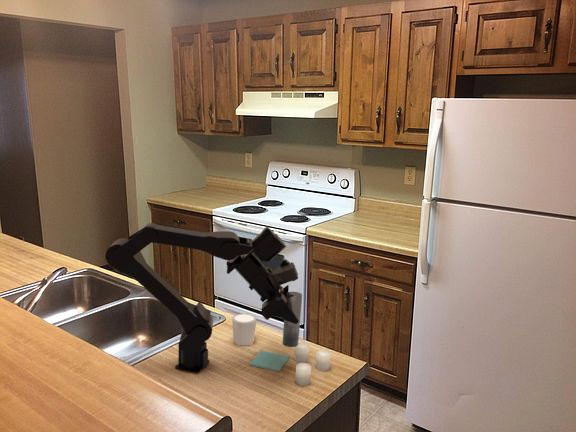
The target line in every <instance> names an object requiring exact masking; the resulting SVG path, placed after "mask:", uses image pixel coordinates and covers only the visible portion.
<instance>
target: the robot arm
mask: <svg viewBox="0 0 576 432" xmlns="http://www.w3.org/2000/svg"><path fill="white" fill-rule="evenodd" d="M150 244H159V245H167V246H173V247H178V248H179V247H180V248H184V249H191V250H196V251H197V250H198V251H201V252H205V253H206V254H209V255H211V256H212V257H215V258H218V259H222V260H225V261H226V262H225V263H226V274H228V275H230V274H231V273H232V272H233V271H234V270H235V271H236V273H238V274H239V275H240V276H241V278H242V279H243V280H245V282H246V283H247V284H248V289H250V291H253V290H254V291H255V292H256V294H257V295H258V296H260V299H259V300H260V301H261V302H262V303H261V304H262V305H261V312H260V313H261V316H262V317H263V318H264V319H265V320H266V321H268V320H270V318H272V317H275V318H278V319H281V320H283V321H284V320H286V321H289V322H291V323H294V324H297V323H298V322H299V320H298V319H297V317H296V315H295V314H294V312H293V311H292V310H291V308H290V307H289V305H288V296H287V297H286V293H287V292H289V291H290V289H289V288H290V286H289V284H287V283H291V282H296V281H297V280H299V273H298V270H297V268H296V265H295V263H294V262H290V261H289V260H288V259H287V258H285V259H283V260H281V261H280V266H278V267H277V268H275V269H272V268H271V267H270V266H267V267H266V266H265V265H264V264H263V263H262V262H265V263H266V262H271V261H272V260H274V258H275V257H277V255H278V254H280V253H281V252H283V250H285V249H286V247H287V245H286V244H285V242H284V241H283V240H282V238H281V237H280V236H279V235H278V233H275V232H274V231H273V230H272V229H271V228H269V226H266V227H264V228H263V229H262V231H261V232H260V233H259V234H258V235H257V236H256V237H254V238H253V239H252V238H251V237H250V238H249V237H244V236H238V234H237V233H236V232H233V231H229V230H228V231H226V230H225V231H220V230H219V231H210V232H209V231H208V232H207V231H206V232H202V231H196V230H189V229H185V228H177V227H172V226H166V225H160V224H157V223H154V222H149V223H147V224H145V225H144V227H142V228H141V229H139V230H137V231H135V232H134V233H132V234H131V235H130V236H128V237H125V238H124V237H123V238H118V239H116V240H115V241H114V242H112V244H111V245H110V246H109V247H108V248H107V250H106V251H105V261H106V263H107V264H108V266H109V267H111V268H112V269H114V270H115V271H117V272H119V273H120V274H122V275H124V276H128V277H131V278H132V279H134V280H135V281H137V282H138V284H140V285H141V287H143V288H144V289H145V290H146V291H147V292H148V293H149V294H151V295H152V296H153V297H154V298H155V299H156V300H157V301H158V302H160V303H161V305H162V306H164V307H165V308H166V309H167V310H168V311H169V312H170V313H171V314H173V316H175V317H176V319H177V320H178V322H179V323H180V326H181V328H182V329H181V333H180V337H179V342H178V343H177V344H178V345H177V346H178V348H177V349H178V354H177V355H178V359H177V360H178V363H177V364H176V365H174V369H175V370H179V371H184V372H187V373H192V374H199V373H200V372H201V371H202V370H204V369H205V368H206V366H208V364H210V359H209V348H207V345H208V344H207V343H208V342H207V341H208V340H209V339H210V338H211V336H212V335H213V326H214V320H213V315H212V314H211V313H212V312H211V310H209V309H207V308H206V306H204V305H203V303H202V302H201V301H198V302H197V303H196V304H193V303H190V302H189V301H188V300H187V299H185V297H183V296H182V295H181V294H180V293H179V292H178V291H177V290H176V289H175V288H174V287H173V286H171V284H169V282H167V281H166V279H164V278H163V277H162V276H161V275H160V274H159V273H158V272H157V271H156V270H155V269H153V268H152V266H150V265H149V264H148V263H147V261H146V260H145V258H144V255H143V253H142V252H141V251H142V250H143V249H145V248H146V247H147V246H149V245H150ZM254 254H255V255H254ZM257 257H258V258H257ZM284 284H287V285H286V286H282V285H284Z"/></svg>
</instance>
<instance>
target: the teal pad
mask: <svg viewBox="0 0 576 432" xmlns="http://www.w3.org/2000/svg"><path fill="white" fill-rule="evenodd" d="M289 359H290V356H289V355H286V354H280V353H277V352H276V353H275V352H270V351H266V350H260V351H259V353H258V354H257V355H255V357H254V359H252V360H251V362H250V363H249V366H251V367H256V368H260V369H266V370H269V371H273V372H281V370H282V368H283V367H284V366H285V365H286V363H287V361H289Z"/></svg>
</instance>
